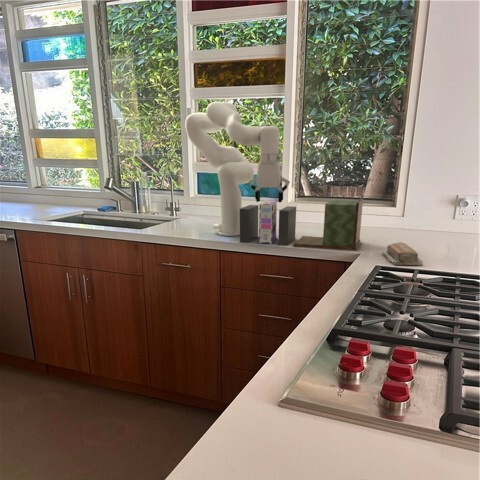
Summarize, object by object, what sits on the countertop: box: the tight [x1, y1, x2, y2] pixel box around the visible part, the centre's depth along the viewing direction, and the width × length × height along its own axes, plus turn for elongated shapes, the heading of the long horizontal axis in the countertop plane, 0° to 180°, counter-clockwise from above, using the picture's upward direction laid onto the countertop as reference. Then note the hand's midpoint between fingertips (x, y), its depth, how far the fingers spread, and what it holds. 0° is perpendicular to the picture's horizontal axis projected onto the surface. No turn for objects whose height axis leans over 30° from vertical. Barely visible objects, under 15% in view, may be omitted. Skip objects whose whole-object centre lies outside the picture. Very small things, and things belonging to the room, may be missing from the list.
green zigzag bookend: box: [293, 197, 364, 251], centre depth 190 cm, size 25×17×18 cm
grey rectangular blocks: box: [239, 204, 297, 246], centre depth 198 cm, size 21×14×14 cm, turn 71°
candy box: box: [258, 200, 278, 245], centre depth 198 cm, size 14×6×16 cm, turn 168°
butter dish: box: [381, 242, 423, 266], centre depth 166 cm, size 18×5×10 cm
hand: (269, 201), depth 195 cm, fingers open, 9 cm apart
